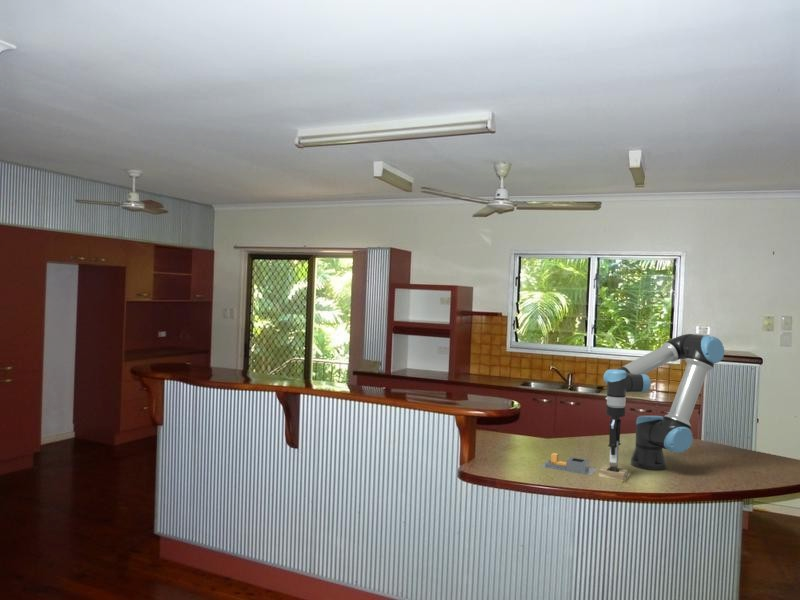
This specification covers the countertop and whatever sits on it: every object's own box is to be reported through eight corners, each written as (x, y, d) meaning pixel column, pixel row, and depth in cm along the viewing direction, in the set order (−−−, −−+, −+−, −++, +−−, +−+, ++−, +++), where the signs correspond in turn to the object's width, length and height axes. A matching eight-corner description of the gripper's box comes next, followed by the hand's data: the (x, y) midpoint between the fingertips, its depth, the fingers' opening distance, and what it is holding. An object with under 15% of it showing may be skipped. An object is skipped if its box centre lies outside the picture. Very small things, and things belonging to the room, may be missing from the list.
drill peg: (610, 472, 264) (611, 439, 264) (617, 473, 263) (619, 440, 262) (608, 473, 261) (609, 441, 261) (616, 475, 260) (617, 442, 260)
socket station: (547, 463, 282) (547, 452, 282) (596, 471, 271) (597, 459, 271) (539, 469, 271) (540, 457, 271) (590, 478, 261) (591, 466, 261)
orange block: (552, 464, 276) (553, 453, 276) (571, 467, 272) (571, 455, 272) (550, 465, 274) (551, 454, 274) (569, 468, 270) (569, 457, 270)
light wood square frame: (603, 473, 269) (603, 465, 269) (627, 477, 264) (627, 469, 264) (598, 478, 260) (598, 470, 260) (623, 483, 255) (623, 474, 255)
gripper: (610, 402, 271) (608, 455, 271) (602, 408, 256) (600, 464, 257) (628, 404, 267) (626, 458, 267) (621, 410, 253) (619, 467, 253)
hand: (613, 461), depth 262 cm, fingers closed on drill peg, 3 cm apart
